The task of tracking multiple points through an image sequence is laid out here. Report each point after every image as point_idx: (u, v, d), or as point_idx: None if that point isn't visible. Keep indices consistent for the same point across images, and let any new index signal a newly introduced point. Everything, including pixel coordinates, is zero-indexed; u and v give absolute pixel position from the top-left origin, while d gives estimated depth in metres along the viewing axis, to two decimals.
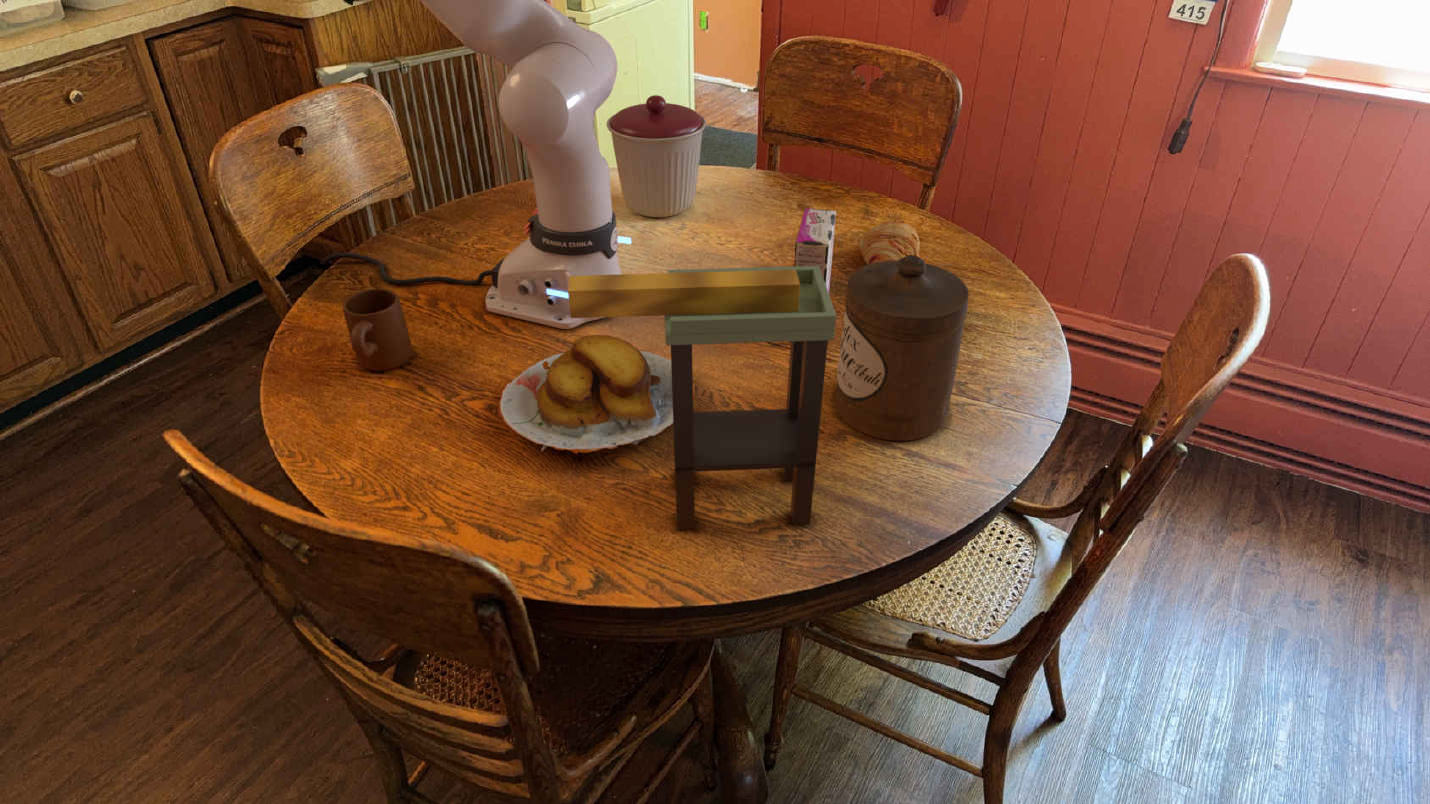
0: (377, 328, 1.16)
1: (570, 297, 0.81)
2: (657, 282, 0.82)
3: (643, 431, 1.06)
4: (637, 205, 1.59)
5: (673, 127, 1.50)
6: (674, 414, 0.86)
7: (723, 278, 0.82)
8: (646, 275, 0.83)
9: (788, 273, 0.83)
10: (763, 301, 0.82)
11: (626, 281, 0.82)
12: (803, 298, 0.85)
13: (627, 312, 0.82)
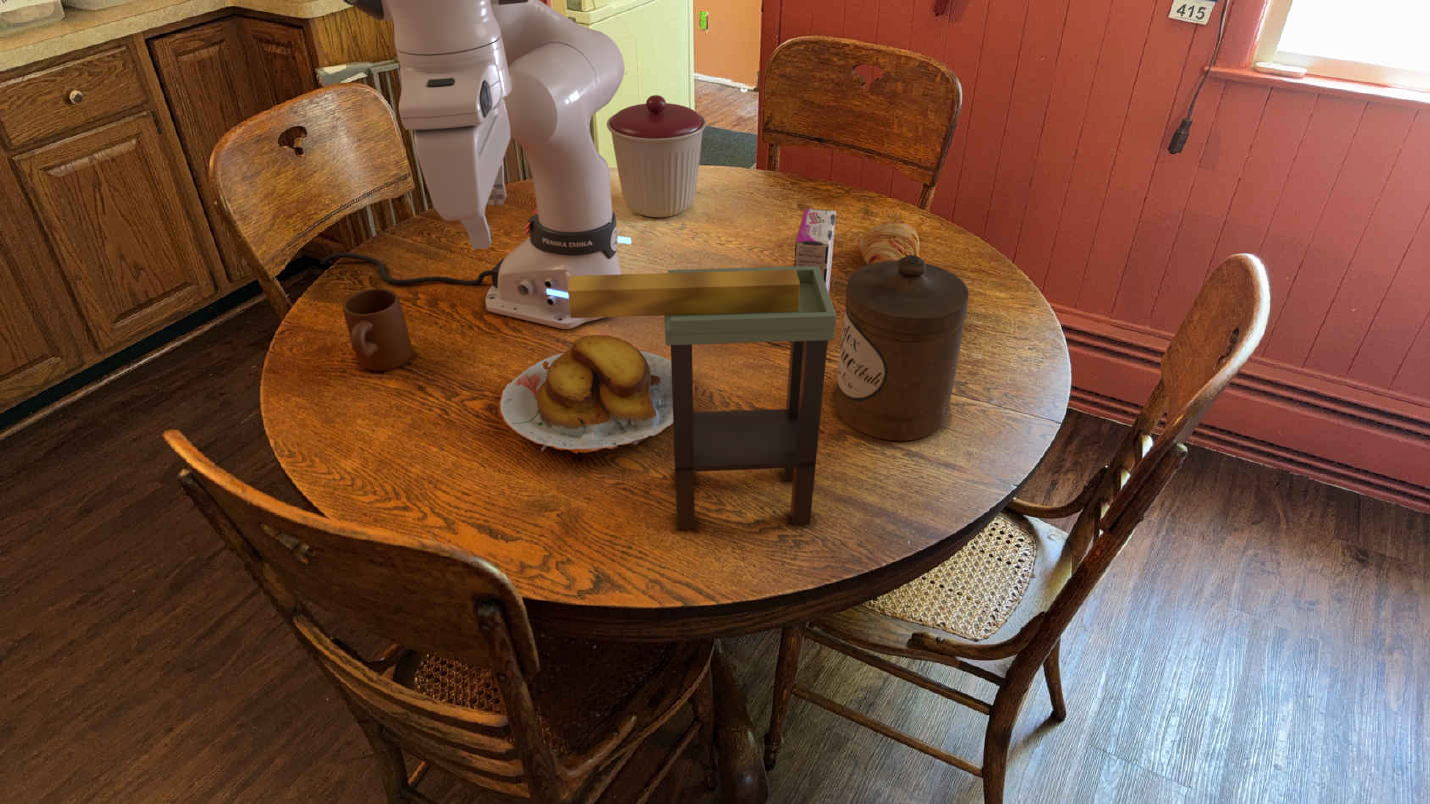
0: (377, 328, 1.16)
1: (570, 297, 0.81)
2: (657, 282, 0.82)
3: (643, 431, 1.06)
4: (637, 205, 1.59)
5: (674, 127, 1.50)
6: (674, 414, 0.86)
7: (723, 278, 0.82)
8: (646, 275, 0.83)
9: (788, 273, 0.83)
10: (763, 301, 0.82)
11: (626, 281, 0.82)
12: (803, 298, 0.85)
13: (627, 312, 0.82)
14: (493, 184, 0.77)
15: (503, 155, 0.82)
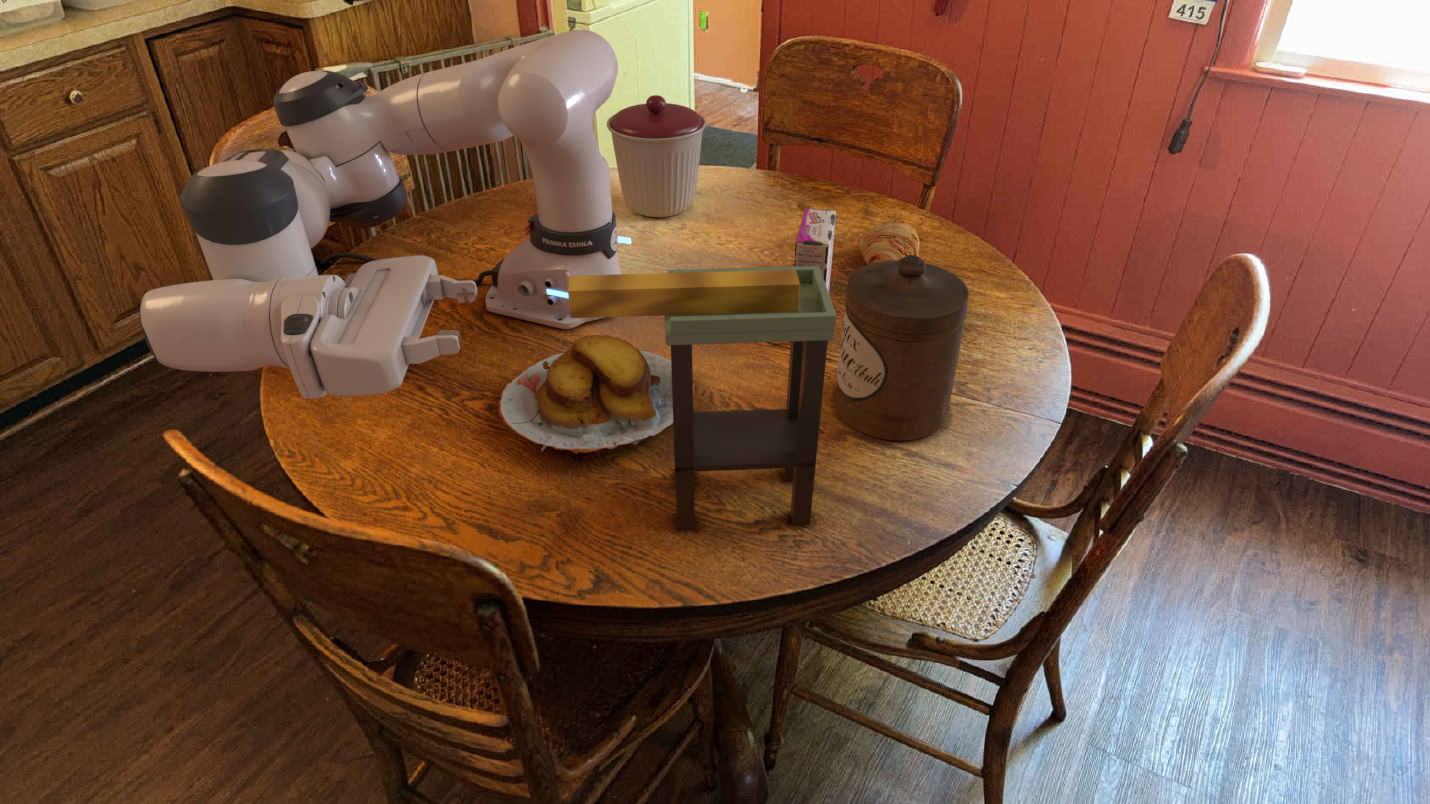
0: None
1: (570, 297, 0.81)
2: (657, 282, 0.82)
3: (643, 431, 1.06)
4: (637, 205, 1.59)
5: (674, 127, 1.50)
6: (674, 414, 0.86)
7: (723, 278, 0.82)
8: (646, 275, 0.83)
9: (788, 273, 0.83)
10: (763, 301, 0.82)
11: (626, 281, 0.82)
12: (803, 298, 0.85)
13: (627, 312, 0.82)
14: (404, 317, 0.79)
15: (418, 282, 0.85)
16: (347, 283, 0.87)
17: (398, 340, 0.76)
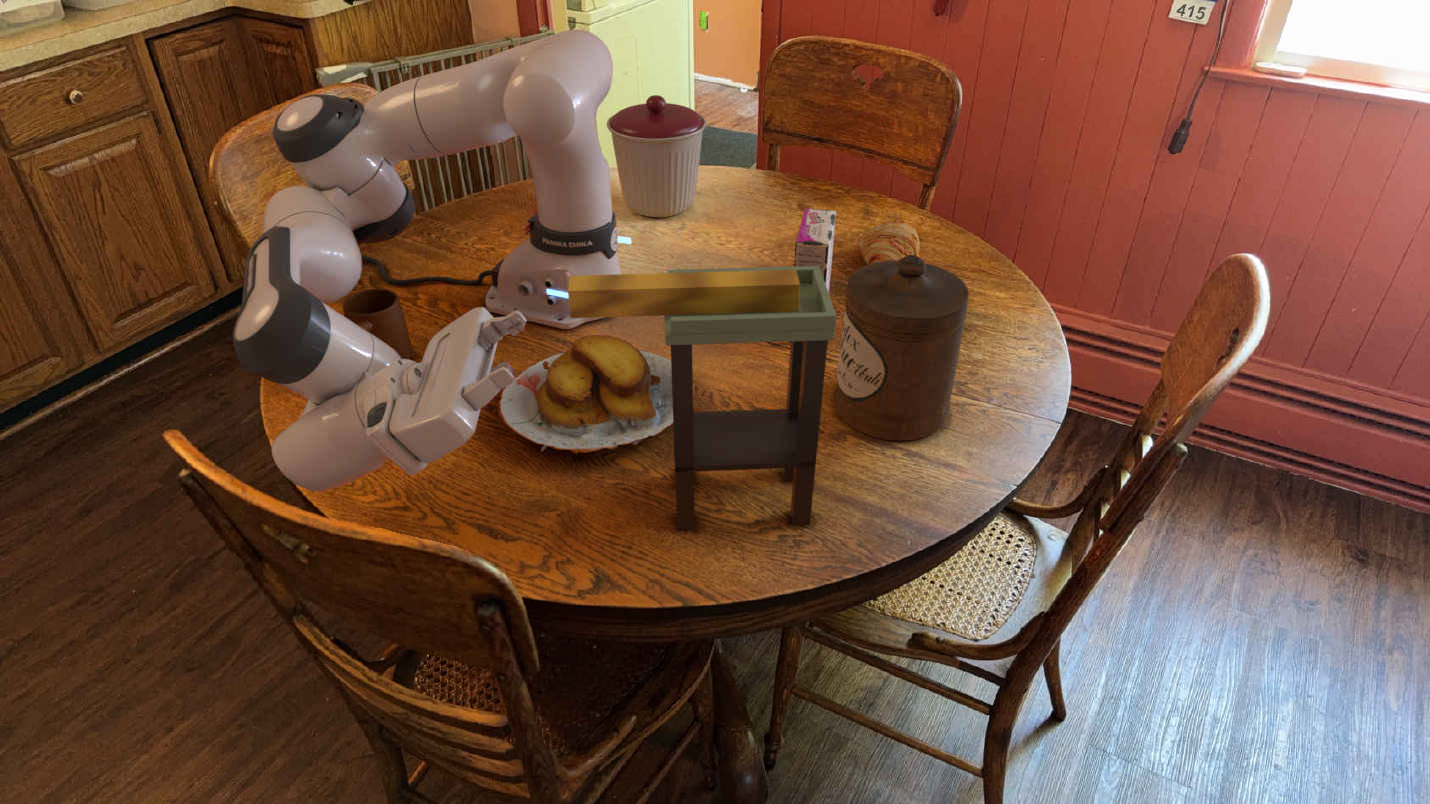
0: (377, 328, 1.16)
1: (570, 297, 0.81)
2: (657, 282, 0.82)
3: (643, 431, 1.06)
4: (637, 205, 1.59)
5: (674, 127, 1.50)
6: (674, 414, 0.86)
7: (723, 278, 0.82)
8: (646, 275, 0.83)
9: (788, 273, 0.83)
10: (763, 301, 0.82)
11: (626, 281, 0.82)
12: (803, 298, 0.85)
13: (627, 312, 0.82)
14: (460, 370, 0.83)
15: (470, 334, 0.89)
16: None
17: (456, 392, 0.80)
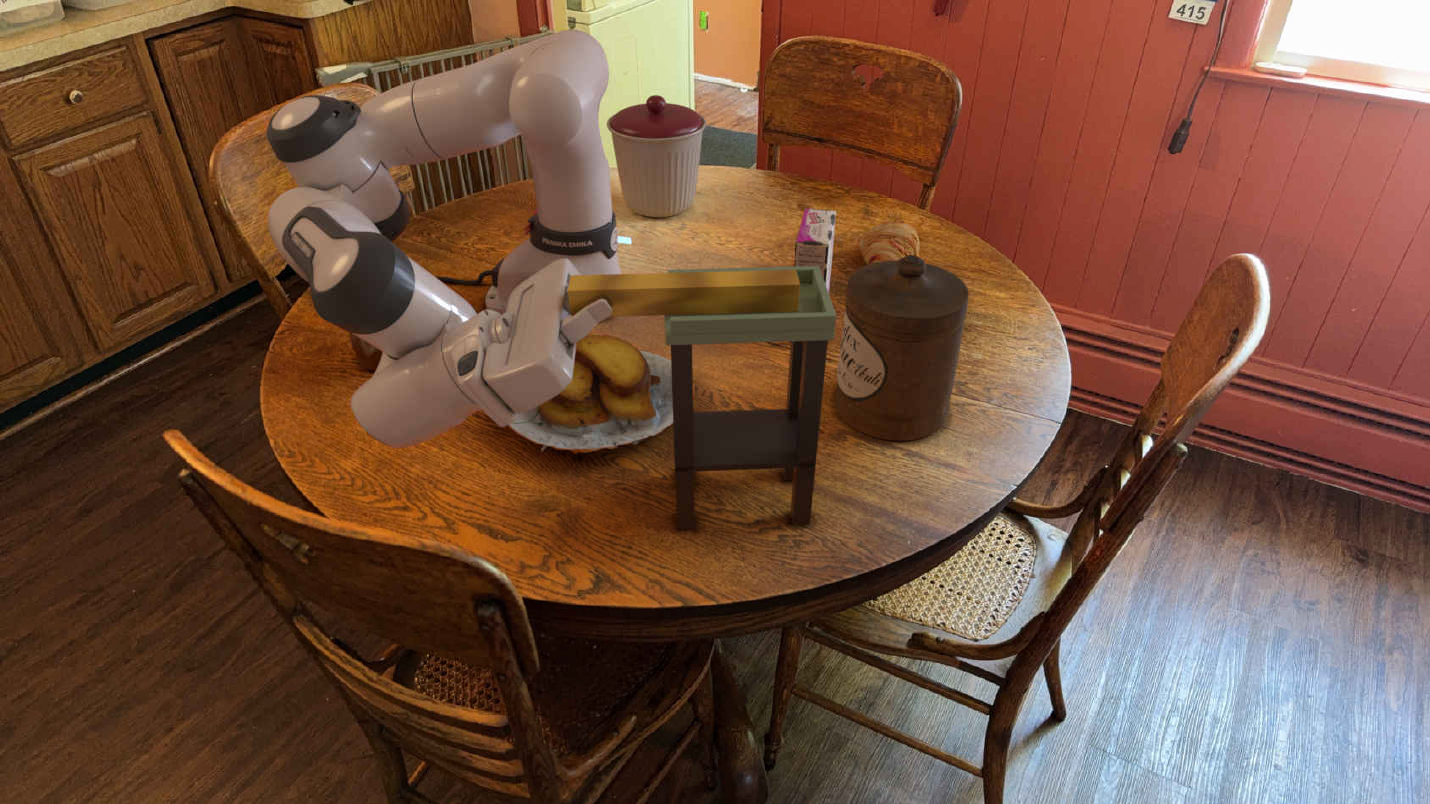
0: None
1: (570, 297, 0.81)
2: (657, 282, 0.82)
3: (643, 431, 1.06)
4: (637, 205, 1.59)
5: (674, 127, 1.50)
6: (674, 414, 0.86)
7: (723, 278, 0.82)
8: (646, 275, 0.83)
9: (788, 274, 0.83)
10: (763, 302, 0.82)
11: (626, 281, 0.82)
12: (803, 298, 0.85)
13: (627, 312, 0.82)
14: (553, 317, 0.80)
15: (558, 284, 0.86)
16: None
17: (553, 339, 0.77)
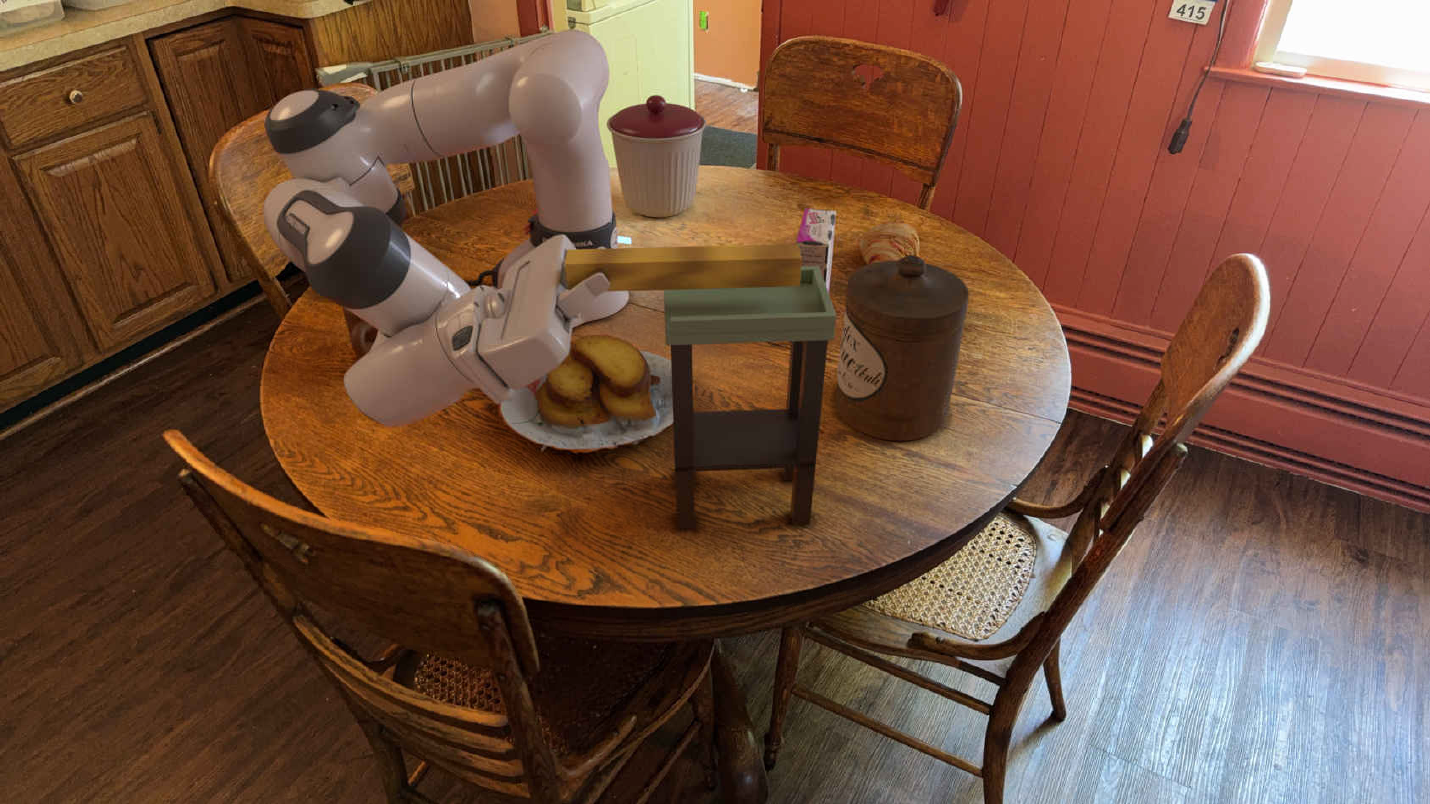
0: None
1: (567, 271, 0.79)
2: (656, 256, 0.80)
3: (643, 431, 1.06)
4: (637, 205, 1.59)
5: (674, 127, 1.50)
6: (674, 414, 0.86)
7: (723, 251, 0.81)
8: (645, 249, 0.81)
9: (790, 247, 0.81)
10: (764, 276, 0.81)
11: (624, 255, 0.80)
12: (803, 298, 0.85)
13: (625, 286, 0.80)
14: (550, 292, 0.79)
15: (555, 259, 0.84)
16: None
17: (549, 312, 0.76)
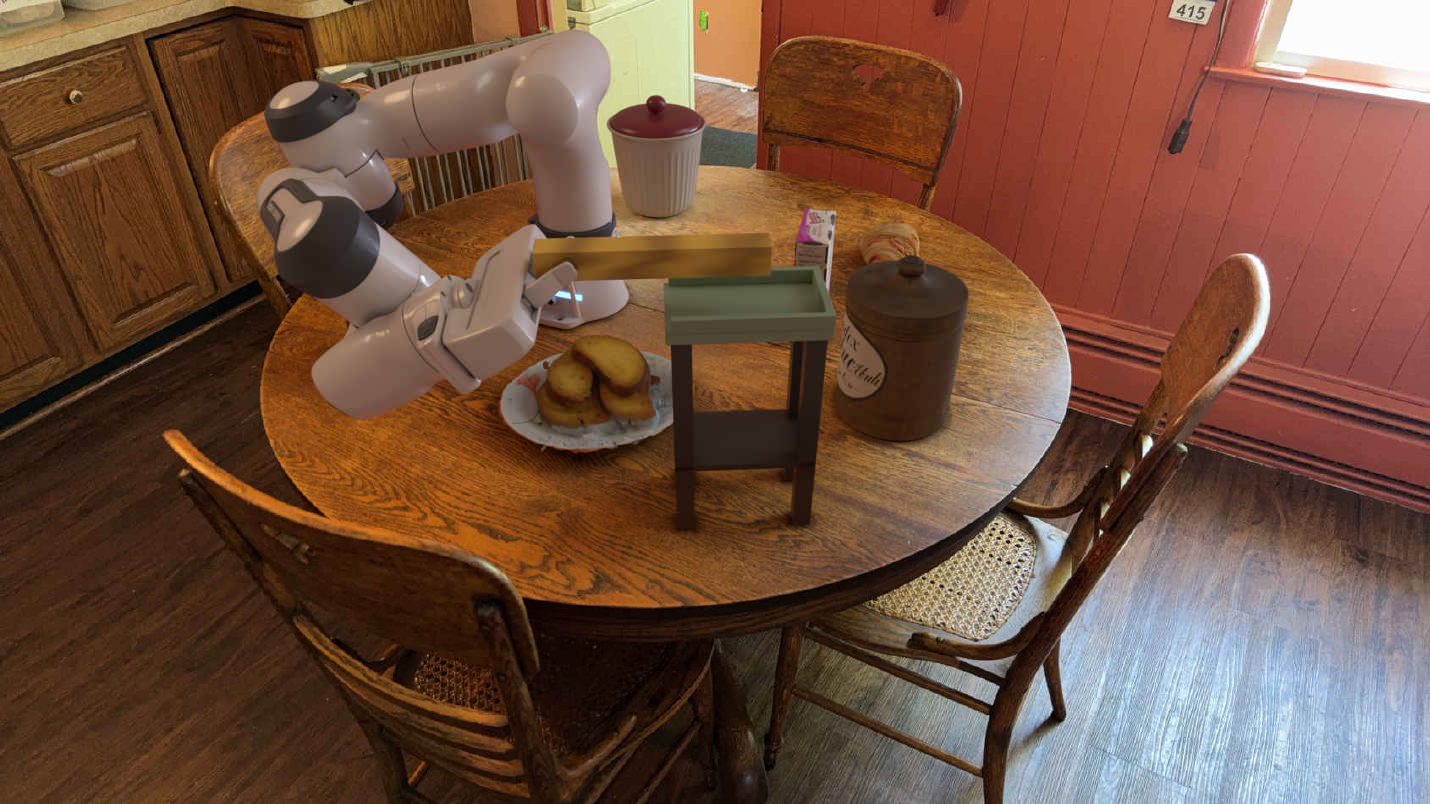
0: None
1: (534, 260, 0.78)
2: (625, 245, 0.79)
3: (643, 431, 1.06)
4: (637, 205, 1.59)
5: (674, 127, 1.50)
6: (674, 414, 0.86)
7: (693, 240, 0.80)
8: (614, 238, 0.80)
9: (760, 236, 0.81)
10: (735, 265, 0.80)
11: (593, 244, 0.79)
12: (803, 298, 0.85)
13: (594, 276, 0.80)
14: (517, 281, 0.78)
15: (523, 248, 0.83)
16: None
17: (515, 302, 0.75)
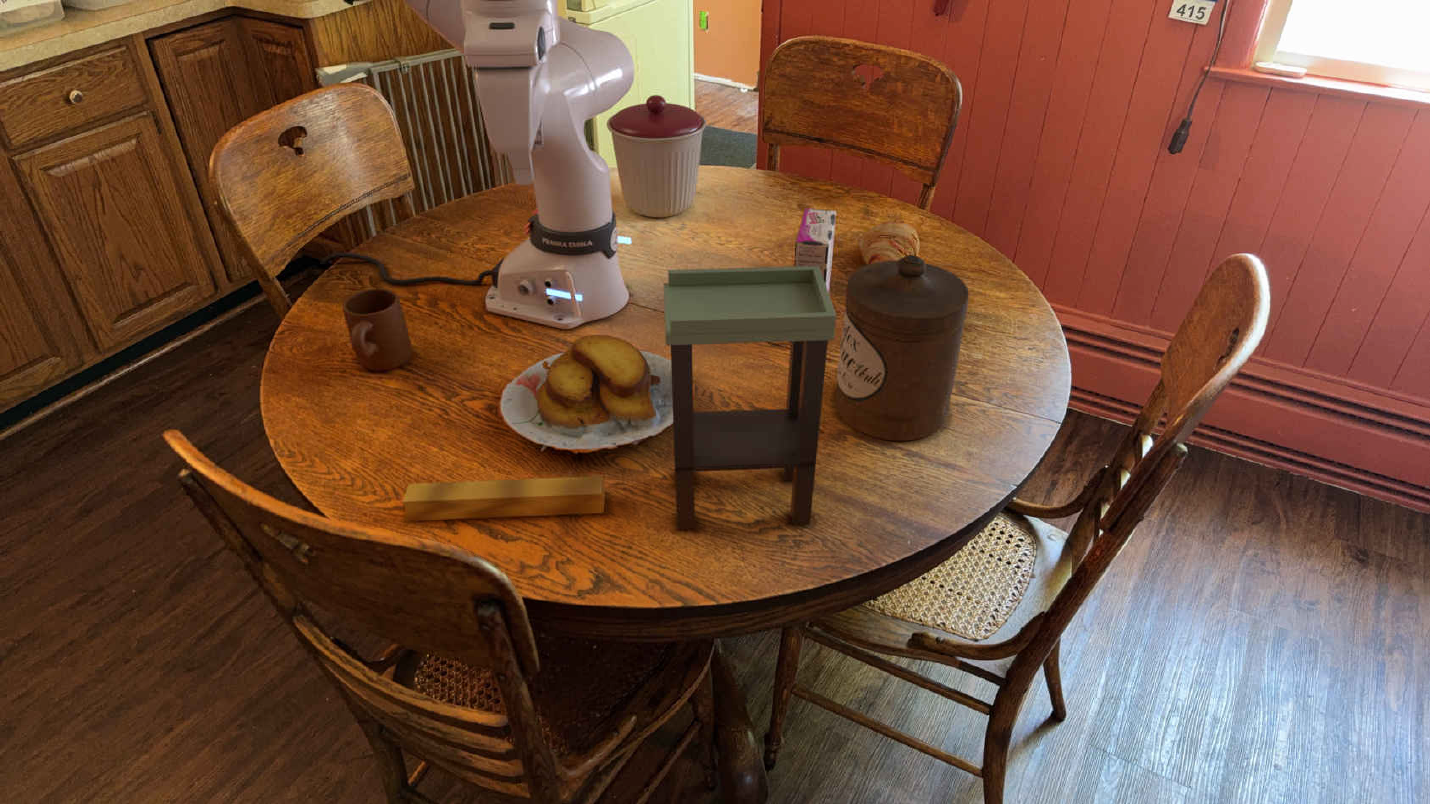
0: (377, 328, 1.16)
1: (405, 506, 0.95)
2: (481, 491, 0.96)
3: (643, 431, 1.06)
4: (637, 205, 1.59)
5: (674, 127, 1.50)
6: (674, 414, 0.86)
7: (538, 486, 0.97)
8: (473, 483, 0.97)
9: (594, 481, 0.98)
10: (572, 506, 0.97)
11: (454, 490, 0.96)
12: (803, 298, 0.85)
13: (456, 516, 0.97)
14: (538, 126, 0.84)
15: (545, 103, 0.89)
16: None
17: None
